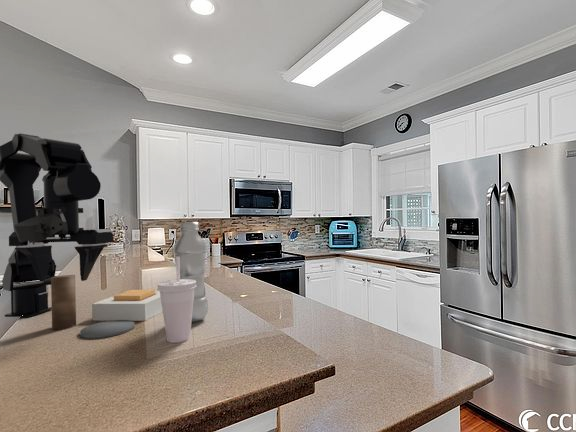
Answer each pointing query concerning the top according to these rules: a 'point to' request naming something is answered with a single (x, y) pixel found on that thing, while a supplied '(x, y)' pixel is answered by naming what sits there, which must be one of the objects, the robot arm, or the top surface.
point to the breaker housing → (127, 309)
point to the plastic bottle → (193, 265)
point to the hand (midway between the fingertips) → (63, 280)
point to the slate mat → (107, 329)
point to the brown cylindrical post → (63, 302)
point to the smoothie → (177, 306)
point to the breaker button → (134, 295)
